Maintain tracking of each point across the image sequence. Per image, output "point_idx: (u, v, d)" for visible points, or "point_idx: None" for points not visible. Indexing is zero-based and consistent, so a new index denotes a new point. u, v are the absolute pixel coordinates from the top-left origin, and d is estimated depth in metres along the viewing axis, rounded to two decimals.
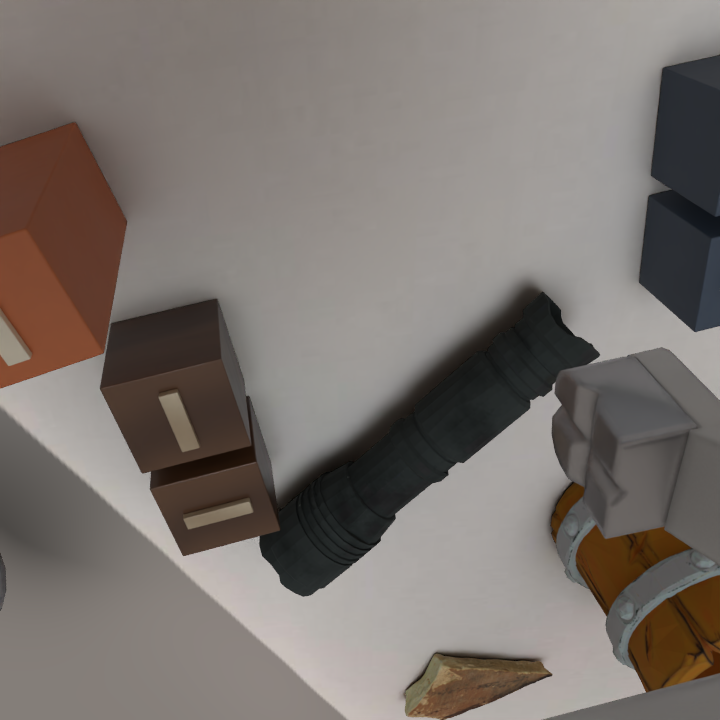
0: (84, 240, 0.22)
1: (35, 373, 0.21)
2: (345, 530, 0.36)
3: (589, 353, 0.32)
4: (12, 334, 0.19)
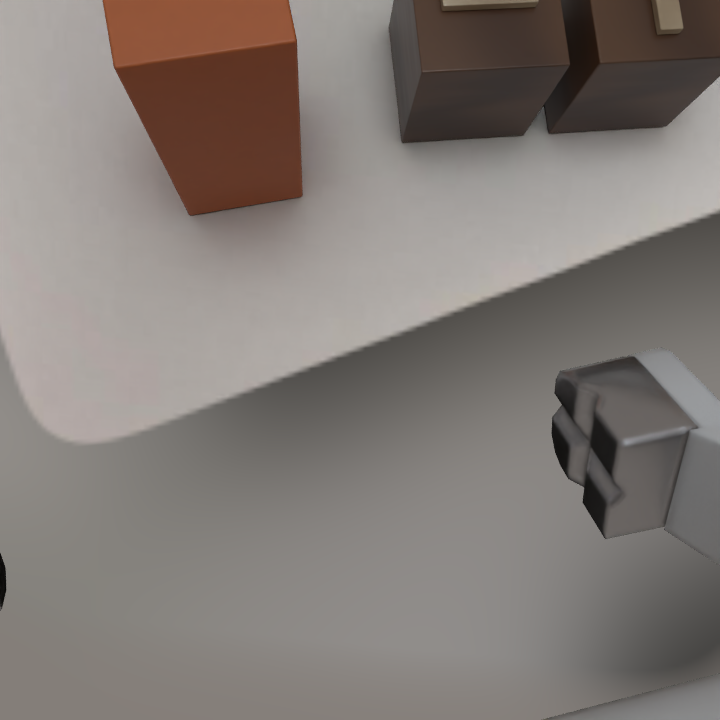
0: None
1: None
2: None
3: None
4: None
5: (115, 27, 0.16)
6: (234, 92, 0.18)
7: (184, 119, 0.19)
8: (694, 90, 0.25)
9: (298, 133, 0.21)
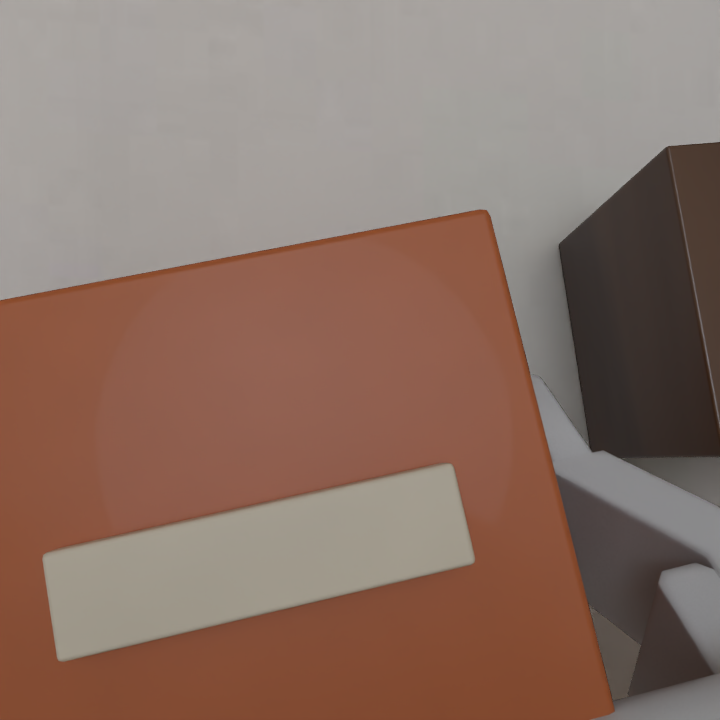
0: None
1: (540, 479, 0.05)
2: None
3: None
4: (320, 492, 0.05)
5: None
6: None
7: None
8: None
9: None
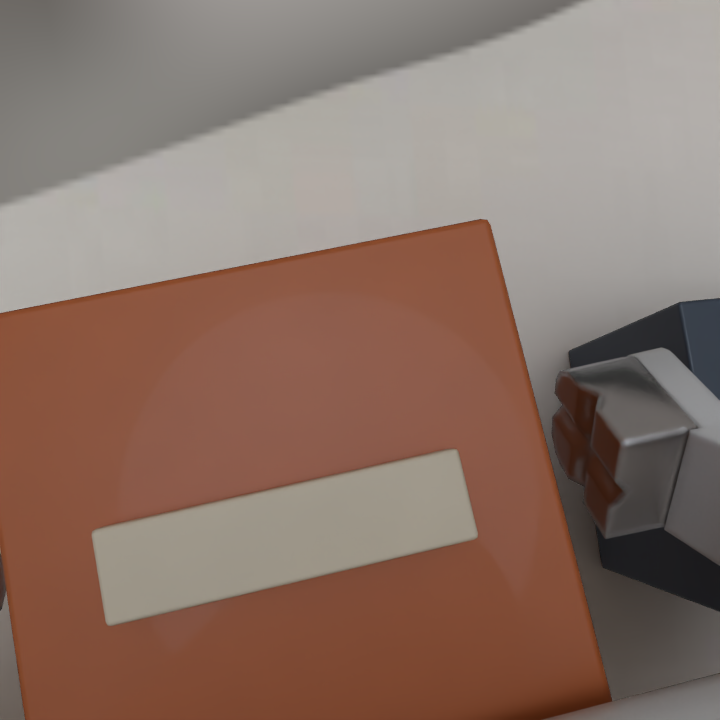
0: None
1: (538, 464, 0.06)
2: None
3: None
4: (338, 475, 0.05)
5: None
6: None
7: None
8: None
9: None
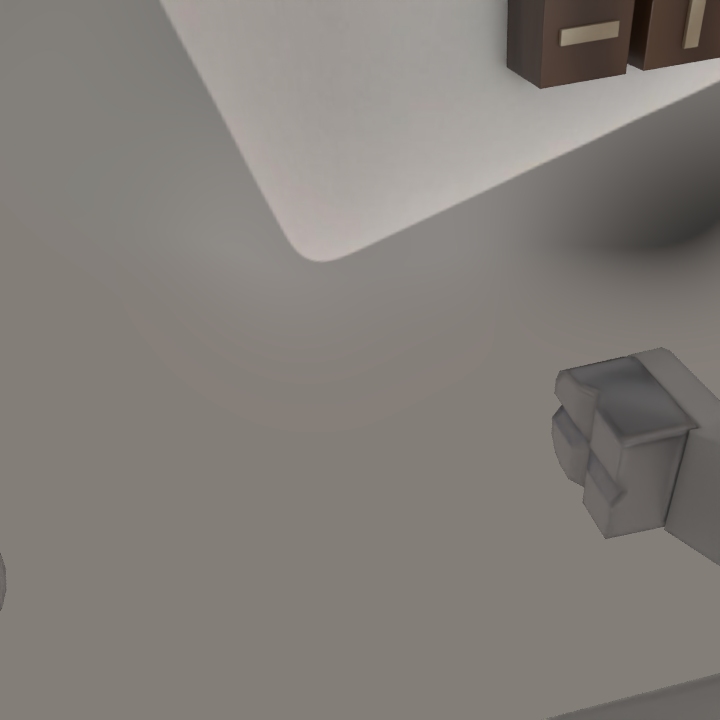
0: None
1: None
2: None
3: None
4: None
5: None
6: None
7: None
8: None
9: None
